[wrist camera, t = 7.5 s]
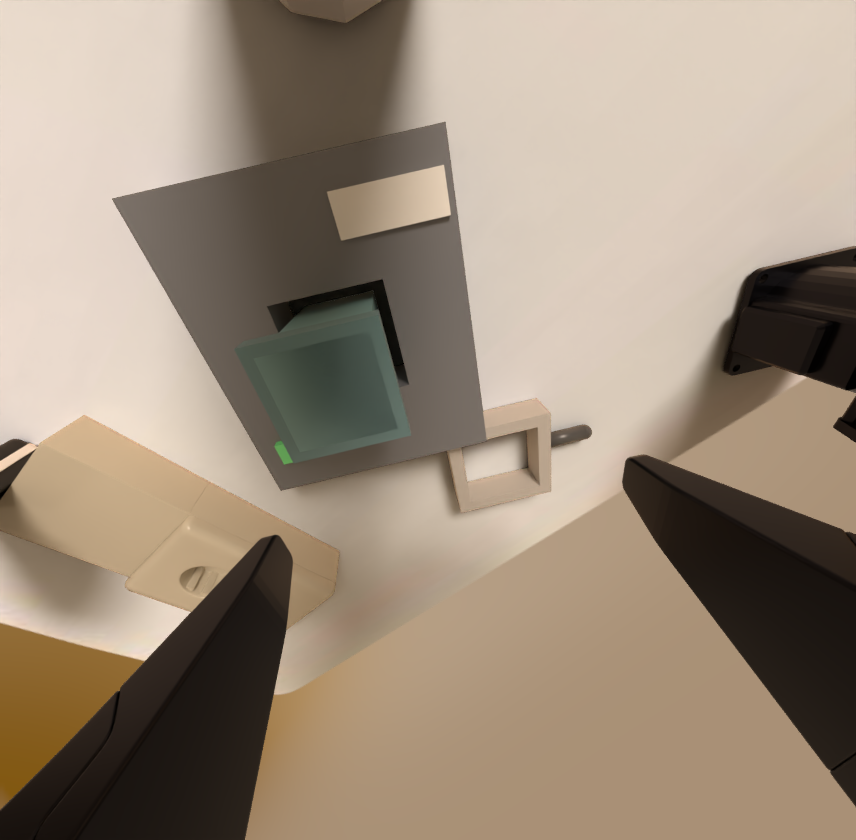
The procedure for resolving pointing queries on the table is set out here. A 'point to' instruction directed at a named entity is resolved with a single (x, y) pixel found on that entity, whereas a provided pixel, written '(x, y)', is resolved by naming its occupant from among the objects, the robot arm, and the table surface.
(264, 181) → the port panel
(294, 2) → the water bottle
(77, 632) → the table surface
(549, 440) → the beige frame with handle
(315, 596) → the electrical outlet
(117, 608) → the table surface
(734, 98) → the table surface
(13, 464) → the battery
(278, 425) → the plug
